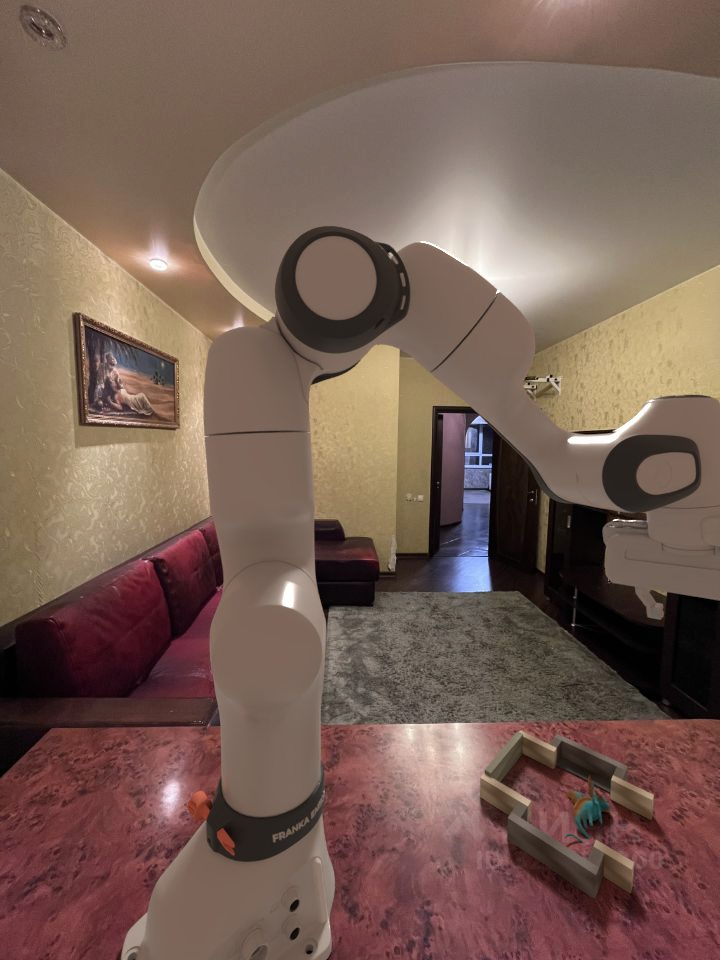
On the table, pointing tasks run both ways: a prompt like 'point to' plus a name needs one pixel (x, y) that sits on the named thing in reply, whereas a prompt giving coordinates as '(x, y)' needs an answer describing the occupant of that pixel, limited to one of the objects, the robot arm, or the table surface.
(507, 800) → the channel
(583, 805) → the dragon figurine
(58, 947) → the table surface
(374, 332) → the robot arm
